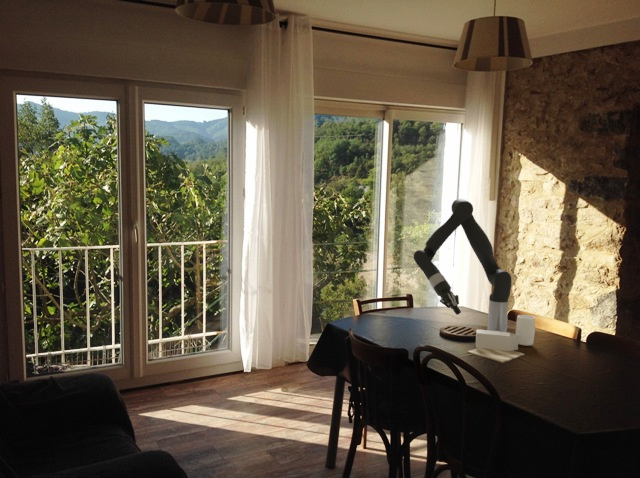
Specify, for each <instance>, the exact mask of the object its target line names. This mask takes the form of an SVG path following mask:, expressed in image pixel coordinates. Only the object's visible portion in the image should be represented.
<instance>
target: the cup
mask: <svg viewBox="0 0 640 478" xmlns="http://www.w3.org/2000/svg"><path fill="white" fill-rule="evenodd" d="M535 331H536V319H535V316H533V315H527V314H518V315H517V317H516V324H515V334H516V335H519V340H518V345H521V346H533V345H534V341H535V340H534V339H535Z"/></svg>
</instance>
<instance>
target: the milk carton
mask: <svg viewBox="0 0 640 478" xmlns="http://www.w3.org/2000/svg"><path fill="white" fill-rule="evenodd" d="M518 340H519V335H516V333H512V332H510V331H508V332H501V331H489V330H487V329H476V333H475V349H476V348H482V349H492V350H503V351H518V350H519V344H518Z"/></svg>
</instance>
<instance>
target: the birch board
mask: <svg viewBox="0 0 640 478" xmlns="http://www.w3.org/2000/svg"><path fill="white" fill-rule="evenodd" d="M467 353H469V354H472V355H475V356H478V357H480V358H481V357H482V358H485V359H488V360H492V361H496V362H498V363H501V364H504V363H506V362H509V361H512V360H515V359H517V358H520V357H524V356H525V353H522V352H520V351H517V350H512V351H503V350H492V349H482V348H476V347H475V348H474V349H471V350H467Z"/></svg>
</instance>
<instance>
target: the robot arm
mask: <svg viewBox="0 0 640 478" xmlns="http://www.w3.org/2000/svg"><path fill="white" fill-rule="evenodd" d="M451 212H452V214H451V215H450V217H449V218H448V219H447V220H446V221H445V222H444V223H443V224H442V225H440V226H439V227H438V228H437V229H436V230H435V231H434V232H433V233H432V234H431V235H430V237H429V238H428V239H427V240H426V242H425V247H424V248H423V249H419V250H415V251H414V253H413V261H414V262H415V264H416V266H418V268H419V269H420V270H421V271H422V273H423V274H424V275H425V278H426V279H427V280H428V282H429V283H430V285H431V287H432V289H433V290H434V292H435V293H436V294H437V296H438V297H440V300H439V302H440V303H441V304H442V305H444V306H445V307H447V308H448V309H451V310H452V311H453V313H455V315H460V314H461V313H462V311H461V310H460V308H459V306H458V305H459V304H460V301H459V300H460V299H459V295H458V294H456V295H455V294H454V292H452V291H451V289H452V286H451V285H450V283H449V282H448V281H447V279H446V277H445V276H444V275H443V274H442V273H441V271H440V269H438V267H437V265H435V264H434V263H433V262H432V260H433V259H434V258H435V255H436V254H437V252H438V250H439V249H440V248H441V247H442V245H444V243H445V242H446V241H447V240H448V238H449V237H450V236H451V235H452V234H453V233H454V232H455V231H456V230H457V229H458V228H459V227H460V226H461V228H462V229H463V231H464V233H465V237H466V238H467V241H468V242H469V245H470V247H471V249H472V251H473V252H474V254H475V255H476V257H477V260H478V261H479V263H480V264H481V267H482V268H483V271H484V273H485V276H486V279H487V280H488V283H489V284H491V285H492V286H493V290H492V291H493V292H492V293H490V294H489V299H488V301H489V302H488V313H487V315H488V317H487V328H486V330H489V331H501V332H507V331H508V305H509V298H510V295H511V290H512V276H511V274H510V273H509V271H506V270H503V269H501V267H500V266H499V265H498V263H497V261H496V259H495V257H494V256H495V255H494V249H493V245H492V243H491V241H490V239H489V237H488V235H487V234H486V232H485V231H484V229H482V227H481V226H480V224H479V223H478V222H477V220H476V219H475V216H474V215H473V213H474V207H473V204H472V203H471V202H469V200H466V199H464V198H457V199H455V200H454V201H453V202H452V203H451Z"/></svg>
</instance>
